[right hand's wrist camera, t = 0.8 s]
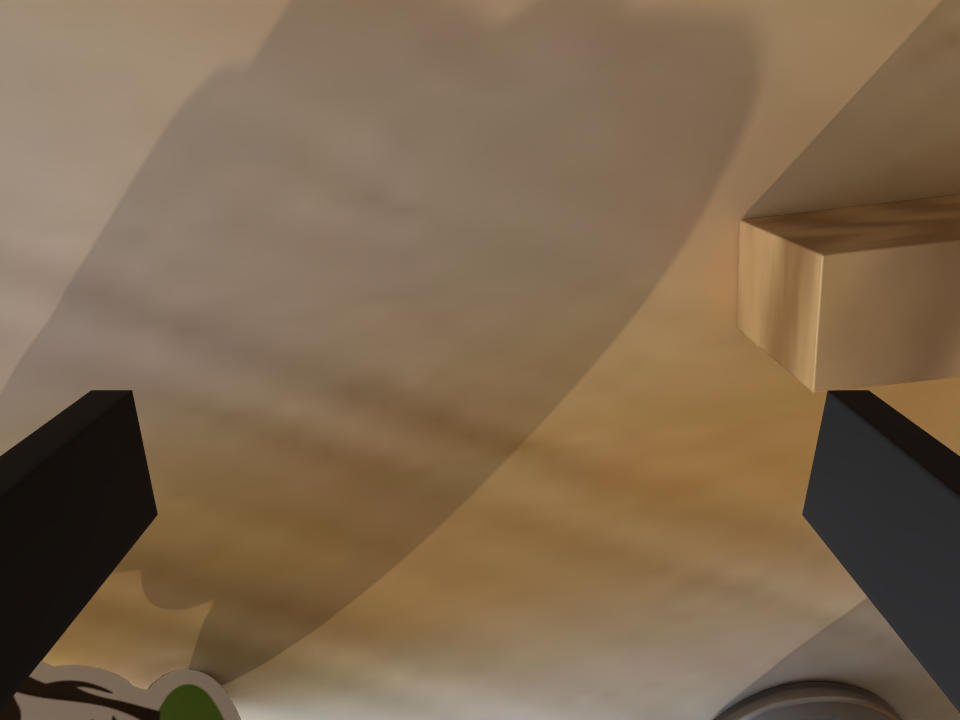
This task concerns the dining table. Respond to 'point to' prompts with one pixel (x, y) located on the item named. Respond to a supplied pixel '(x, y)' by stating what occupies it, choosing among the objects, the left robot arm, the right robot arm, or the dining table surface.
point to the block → (855, 292)
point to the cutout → (117, 696)
